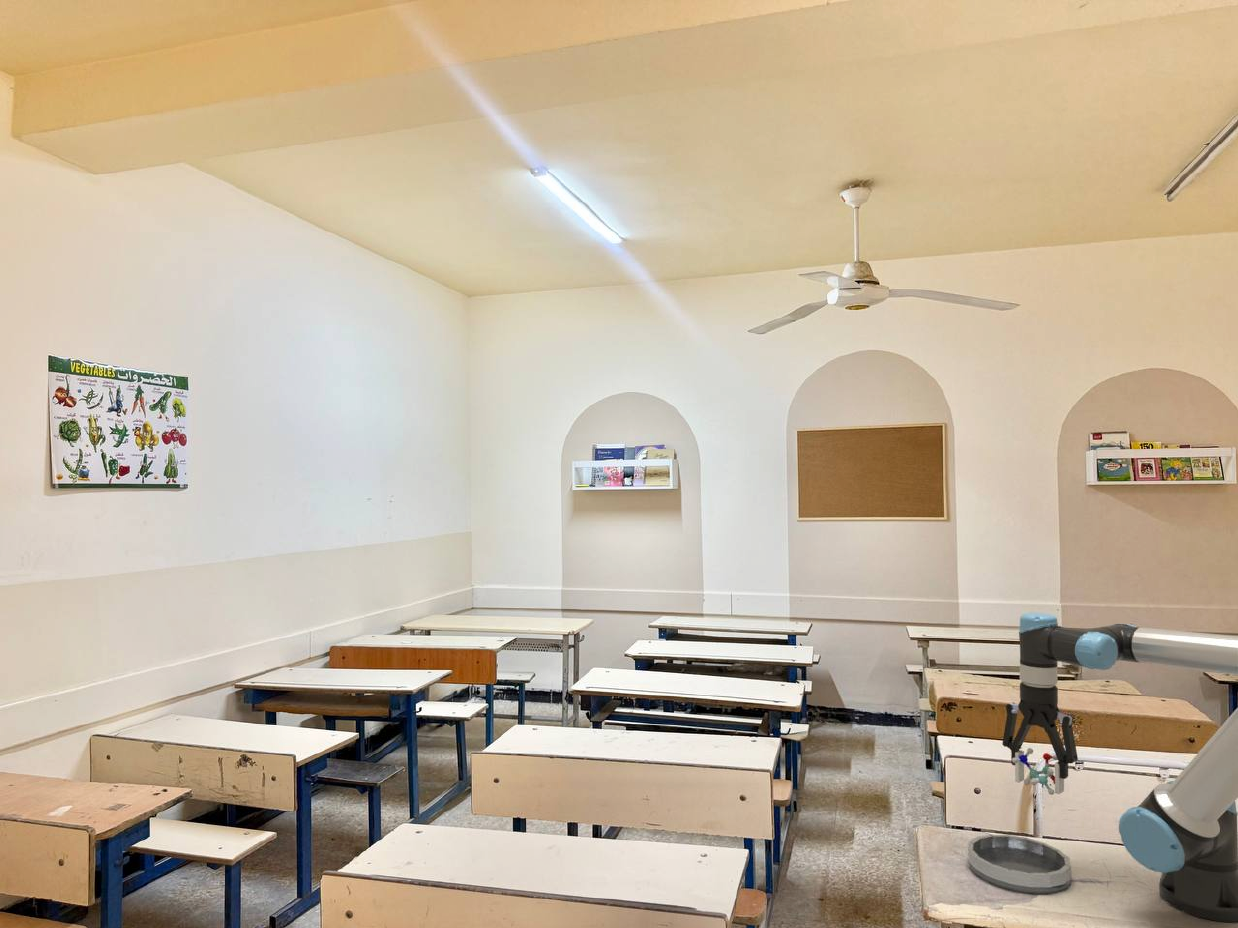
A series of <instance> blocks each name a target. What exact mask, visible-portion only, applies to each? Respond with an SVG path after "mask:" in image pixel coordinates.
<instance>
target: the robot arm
mask: <svg viewBox="0 0 1238 928" xmlns="http://www.w3.org/2000/svg"><path fill="white" fill-rule="evenodd" d="M1018 636H1019V680H1020V681H1021V682H1020V683H1019V699H1020V701H1019V703H1015V702H1010V703H1008V704H1006V705H1005V710H1006V720H1005V726H1004V730H1003V732H1004V733H1003V736H1002V737H1003V738H1002V745H1003V747H1006V748H1008V749H1010V753H1011V754H1010V755H1011V756H1010V757H1011V759H1010V760H1011V765H1012V766H1014V767H1015V768H1014V772H1015V773H1014V777H1015V778H1014V782H1016V783H1020V782H1021V783H1022V782H1024V780H1025V763H1022V762H1021V761H1018V762H1017V763H1016V764H1015V763H1013V762H1012V759H1013V758H1017V759H1018V758H1019V757H1020V756H1021V755H1025V750H1021V749H1022V746H1023V743H1024V741H1025V739H1026V738H1027V736H1028V733H1029V731H1030V729H1031V727H1032V726H1038V727H1039V728H1042V729H1044V732H1045V733H1046V734H1047V737H1048V739H1049V742H1050V744H1051V747H1052V748H1053V751H1054V754H1056V756H1057V759H1058V760H1057V761H1056V762H1054V776H1055V784H1054V794H1057V795H1060V794H1062V793H1064V792H1065V779H1067V778H1068V777H1069V764H1073V763H1076V762H1077V761H1079V759H1078V758H1079V757H1078V752H1077V746H1076V741H1075V735H1074V729H1073V722H1074V715H1072V714H1068V715H1067V714H1065V713H1062V712H1061V711H1060V709H1059V707H1058V703H1059V694H1058V693H1059V692H1058V691H1059V690H1058V689H1059V688H1058V686H1057V685H1058V662H1061V663H1066V664H1070V665H1075V666H1078V667H1083V668H1087V669H1089V670H1100V671H1107V670H1111V668H1113V666H1114V665H1115V664H1116V663H1117V661H1118V662H1119V661H1121V662H1131V663H1141V664H1149V665H1155V666H1156V665H1157V666H1164V667H1170V668H1171V667H1172V668H1179V669H1188V670H1193V671H1194V670H1195V671H1202V672H1209V673H1218V674H1226V675H1232V676H1238V635H1226V634H1219V633H1218V634H1216V633H1209V632H1207V633H1206V632H1194V631H1183V630H1175V629H1162V628H1153V627H1152V628H1149V627H1138V626H1136V625H1133V624H1131V623H1114V624H1110V625H1106V626H1100V627H1091V628H1086V629H1077V628H1071V627H1064V626H1060V625H1059V623H1058V618H1057V616H1055V615H1054V614H1050V613H1042V612H1027V613H1023V614H1021V616H1020V618H1019V631H1018ZM1019 712H1020V713H1021V714H1022V716H1023V719H1022V721H1021V722H1020V727H1019V729H1018V730H1017V732H1016V735H1015V729H1016V724H1017V719H1018V718H1017V717H1018V713H1019ZM1057 719H1058V720H1059V723H1060V725H1061V732H1062V738H1063V741H1062V739H1061V737H1060V734H1059V732H1058V727H1057V724H1056V722H1055V721H1056V720H1057ZM1014 736H1015V737H1014ZM1237 799H1238V707H1237V708H1236V709H1235V710H1234V711H1233V712H1232V713H1231V714H1230V716H1229V717H1228V718H1227V719H1226V720H1225V721H1224V722H1223V724H1222V725H1221V726H1220V727H1219V728H1218V730H1216V732H1215V733H1214V734H1213V735H1212V736H1211V737H1210V738H1209V740H1208V741H1207V742H1206V743H1205V745H1204V746H1203V747H1202V748H1201V749H1200V750H1199V751H1198V752H1197V753H1196V755H1195V756H1194V757H1193V758H1192V760H1190V761H1189V762H1188V764H1187V765H1186V766H1185V767H1184V768H1183V770H1182V771H1181V772H1180V773H1179V774H1178V775H1177V776H1176V777H1175V778H1174V780H1172V781H1167V782H1166V783H1159V784H1157V785H1156V786H1155V787H1154V788H1153V790H1151V792H1150V793H1149V794H1148V795H1147V796H1146V797H1145V798H1144V799H1143V801H1142V802H1141V803H1139V805H1138V806H1134V807H1130V808H1128V809H1127V810H1126V811H1125V812H1123V813H1122V815H1121V816H1120V819H1119V822H1118V832H1119V833H1118V834H1119V835H1120V838H1121V842H1122V844H1123V847H1124V848H1125V850H1126V851H1127V852H1128V854H1129V855H1130V856H1131V857H1132V858H1133V859H1134V860H1135V861H1136V862H1137V863H1138V864H1139V865H1141V866H1143V867H1144V868H1146V869H1148V870H1150V871H1154V872H1155V873H1156V872H1157V873H1161V875H1160V878H1159V881H1158V890H1159V892H1158V893H1159V897H1161V899H1162V900H1163V901H1164V902H1165V903H1167V904H1168V905H1170V906H1171V907H1174V908H1175V909H1176V910H1178V911H1182V912H1184V913H1186V914H1188V915H1191V916H1195V917H1198V918H1202V919H1205V920H1212V921H1215V922H1216V921H1217V922H1224V923H1225V922H1227V923H1237V922H1238V811H1237V805H1236V803H1237V802H1236V800H1237Z"/></svg>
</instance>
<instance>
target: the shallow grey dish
mask: <svg viewBox="0 0 1238 928" xmlns="http://www.w3.org/2000/svg"><path fill="white" fill-rule="evenodd" d="M967 854H968V855H967V856H968V857H967V859H968V861H967V862H968V868H969V870H970V871H971V872H972V874H974V875H975V876H976V877H977V878H979V879H980V880H981V881H983V882H985V883H986V884H989V885H992V886H994V887H996V888H999V889H1003V890H1006V891H1008V892H1009V891H1010V892H1014V893H1018V894H1019V893H1020V894H1024V895H1025V894H1026V895H1035V896H1036V895H1037V896H1042V895H1043V896H1046V895H1055V894H1060V893H1063V892H1065V891H1066V890H1067V889H1069V888H1070V887H1071V884H1072V883H1071V882H1072V881H1071V880H1072V865H1071V861H1070V857H1068V855H1066V854H1065V853H1064V852H1063V851H1062V850H1061V849H1058V848H1056V847H1054V846H1052V845H1050V844H1048V843H1045V842H1042V841H1039V840H1035V839H1033V838H1029V837H1024V836H1018V835H1011V834H987V835H986V834H985V835H982V836H976V837H974V838H973V839H971V840H970V841H969V842H968V845H967Z"/></svg>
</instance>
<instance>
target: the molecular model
mask: <svg viewBox="0 0 1238 928" xmlns="http://www.w3.org/2000/svg"><path fill="white" fill-rule="evenodd" d="M1026 751H1027V752H1026V753H1024V755H1021V756H1020V757H1019V758H1018V759H1017V758H1013V759H1012V762H1013V763H1015V764H1016V763H1017V762H1018V761H1021V762H1022V763H1024V765H1026V767H1027V769H1028V770H1029V777H1028V778H1024V780H1023V783H1024V785H1026V786H1029V785H1030V784H1031V786H1036V785H1037V784H1040V785H1043V786H1045V788H1046V789H1047V792H1048V794H1049V795H1051V796H1053V795H1054V794H1055V789H1053V788H1051V787H1050V786H1049V784H1048V781H1049V780H1048V778H1049V779H1051V781H1052V782H1053V784H1054V785H1055V770H1054V769H1052V768H1050V767H1049V761H1051V759H1053V760H1054V761H1058V759H1057V756H1056V754H1055V753H1054V754H1053V755H1050V753H1048V752H1046V753H1043V754H1042V758H1043V760H1044V761H1045V765H1044V767H1043V768H1042V769H1041V770H1039V771H1038V770H1036V769H1034V768H1032V767H1031V765H1030V763H1029V762H1028V757H1029V756H1030V755H1032V754H1033V753H1034V750H1033V748H1031V747H1029V748H1027V750H1026Z"/></svg>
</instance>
